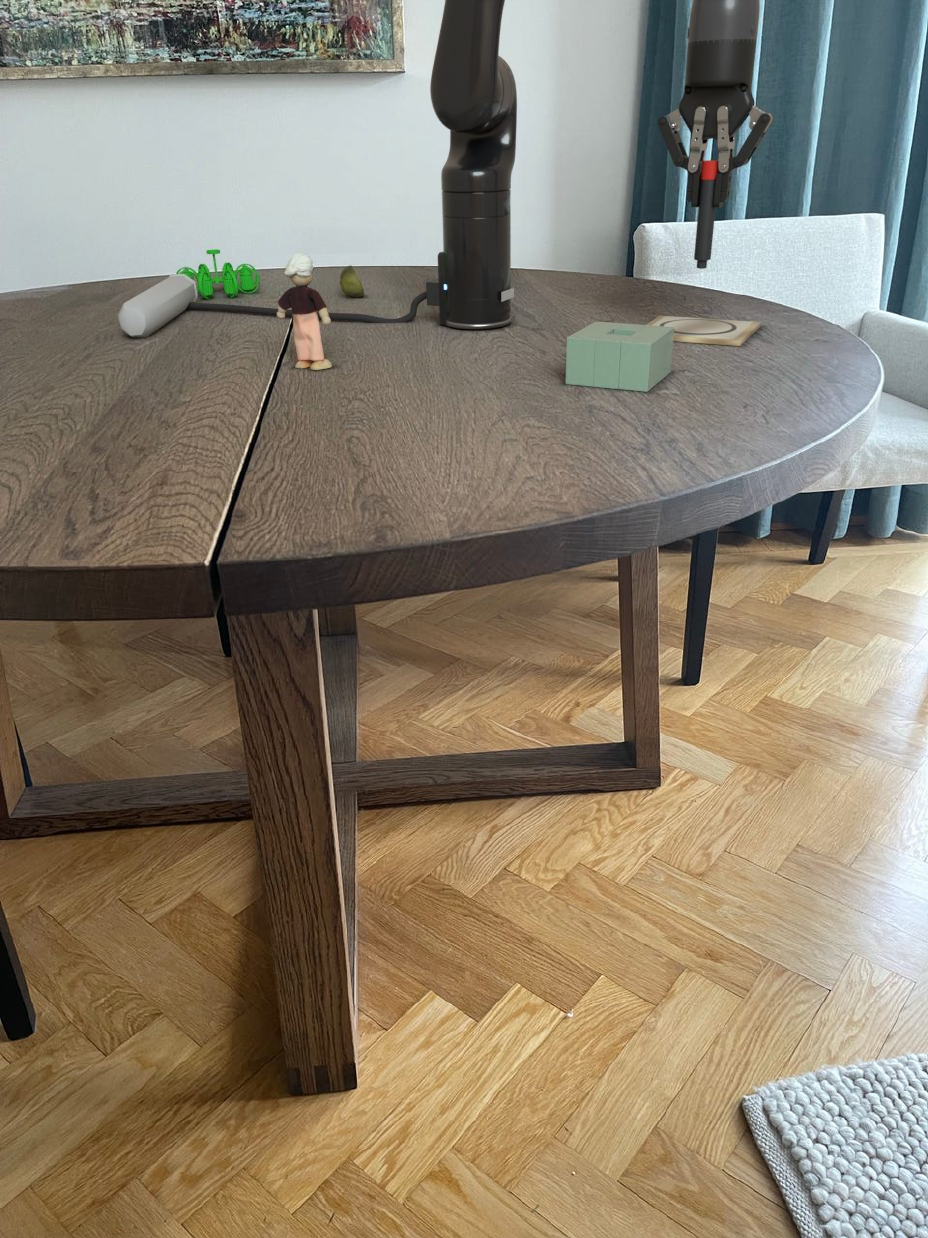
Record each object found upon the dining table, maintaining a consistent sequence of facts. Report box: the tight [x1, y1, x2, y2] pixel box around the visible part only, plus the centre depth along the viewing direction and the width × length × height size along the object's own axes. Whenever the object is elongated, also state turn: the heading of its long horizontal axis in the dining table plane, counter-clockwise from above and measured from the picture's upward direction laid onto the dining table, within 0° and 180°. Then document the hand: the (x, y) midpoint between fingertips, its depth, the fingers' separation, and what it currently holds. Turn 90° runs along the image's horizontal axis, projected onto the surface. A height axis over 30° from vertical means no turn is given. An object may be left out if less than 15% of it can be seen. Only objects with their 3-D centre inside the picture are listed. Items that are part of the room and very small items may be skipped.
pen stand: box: [565, 321, 674, 393], centre depth 102 cm, size 9×9×5 cm
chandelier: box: [175, 249, 261, 300], centre depth 159 cm, size 15×15×7 cm
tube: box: [117, 273, 199, 339], centre depth 137 cm, size 5×5×25 cm
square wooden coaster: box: [645, 315, 762, 347], centre depth 123 cm, size 14×13×1 cm
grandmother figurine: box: [276, 253, 333, 371], centre depth 108 cm, size 8×4×13 cm, turn 71°
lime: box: [339, 265, 365, 298], centre depth 152 cm, size 4×5×5 cm
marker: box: [693, 159, 719, 270], centre depth 113 cm, size 2×2×12 cm
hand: (706, 205), depth 112 cm, fingers closed on marker, 2 cm apart
